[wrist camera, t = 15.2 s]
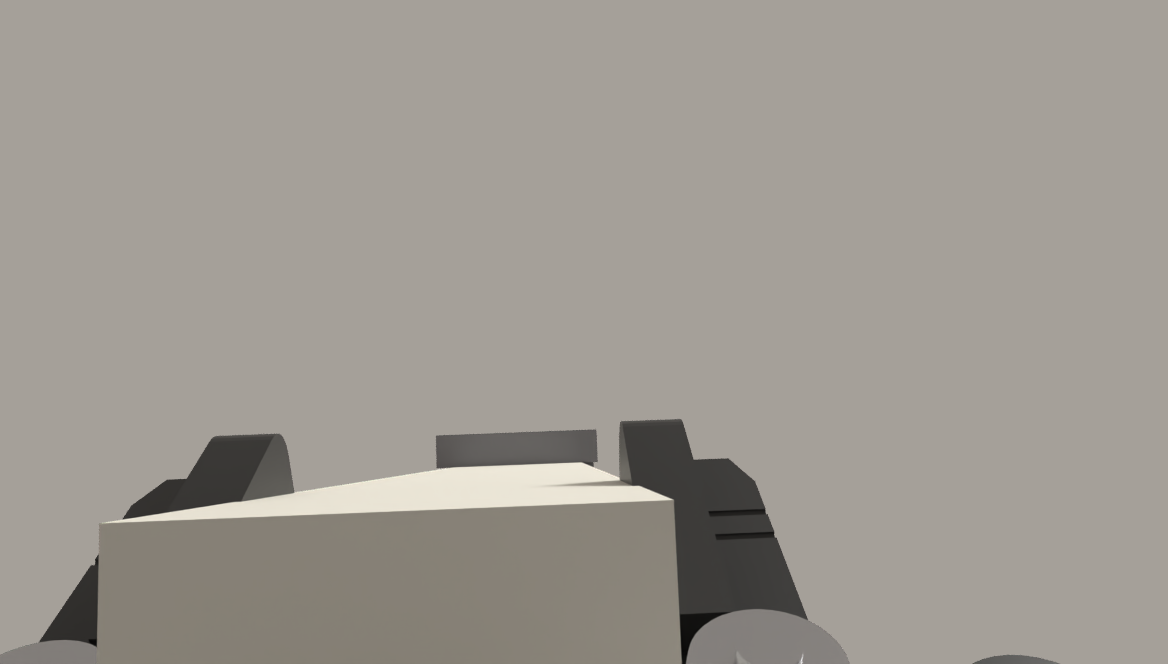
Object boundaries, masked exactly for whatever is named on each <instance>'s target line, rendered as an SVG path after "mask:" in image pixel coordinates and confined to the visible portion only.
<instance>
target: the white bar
mask: <svg viewBox="0 0 1168 664" xmlns="http://www.w3.org/2000/svg"><path fill="white" fill-rule="evenodd" d="M436 454H437V468H446V469H440V470H434V471H428V472H421V473H414V474H408V475H402V476H396V477H389V478H383V479H377V480H371V481H364V482H358V483H351V484H345V485H339V486H332V487H326V488H320V489H314V490H307V491H301V492H294V493H292V494H286V495H280V496H274V497H267V498H261V499H255V500H249V501H243V502H231V503H225V504H219V505H212V506H206V507H200V508H193V509H187V510H181V511H174V512H168V513H162V514H156V515H149V516H143V517H137V518H130V519H124V520H118V521H111V522H105V523H100V524H99V570H98V622H97V664H682V658H681V638H680V617H679V597H678V576H677V556H676V535H675V515H674V500H673V499H670V498H668V497H665V496H663V495H660V494H658V493H655V492H653V491H651V490H648V489H646V488H643V487H641V486H631V485H629V484H627V483H625V482H622V481H620V478H618V477H616V476H614V475H611V474H609V473H606V472H604V471H602V470H599V469H596V468H594V466H593V462H597V461H598V460H597V435H596V430H573V431H547V432H521V433H520V432H519V433H494V434H469V435H468V434H467V435H443V436H436Z"/></svg>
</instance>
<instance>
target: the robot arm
mask: <svg viewBox="0 0 1168 664" xmlns="http://www.w3.org/2000/svg"><path fill="white" fill-rule="evenodd" d="M619 434H620V435H619V449H620V450H619V454H620V455H619V457H620V458H619V462H620V464H619V465H620V467H619V469H620V481H622V482H625V483H627V484H629V485H631V486H641V487H643V488H646V489H648V490H651V491H653V492H655V493H658V494H660V495H663V496H665V497H668V498H670V499H673V500H674V515H675V535H676V556H677V576H678V597H679V617H680V638H681V658H682V664H849V661H848V658H847V656H846V654H845V652H844V650H843V649H842V647H841V646H840V645H839V643H838V642H837V641H836V640H835V639H834V638H833V637H832V636H831V635H830V634H828V633H827V632H826V631H825V630H823V629H822V628H821V627H819V626H817V625H815V624H814V623H812V622H810V621H808V619H807V616H806V614H805V611H804V609H803V606H802V603H801V601H800V598H799V595H798V593H797V590H796V587H795V585H794V582H793V580H792V577H791V575H790V572H789V569H788V567H787V564H786V561H785V559H784V556H783V554H782V551H781V548H780V546H779V543H778V540H777V538H775V537H774V530H773V527H772V525H771V522H770V520H769V517H768V514H766V513H765V506H764V504H763V501H762V499H761V496H760V493H759V491H758V488H757V486H756V483H755V481H754V480H753V479H752V478H750V477H749V476H748V475H747V474H746V473H745V472H743V471H742V470H741V469H740V468H738V466H736V465H735V464H734V463H733V462H732V461H731V460H729V459H702V460H693V457H692V453H691V449H690V446H689V442H688V439H687V435H686V432H685V428H684V425H683V422H682V420H681V419H674V420H645V421H621V422H620V433H619ZM292 493H294V488H293V481H292V475H291V468H290V462H289V456H288V451H287V446H286V443H285V441H284V439H283V437H282V436H281V435H280V434H258V435H232V436H216V437H213V438H212V439H211V441H210V442H209V444H208V445H207V447H206V448H205V450H204V452H203V453H202V455H201V457H200V458H199V460H198V461H197V463H196V465H195V466H194V468H193V470H192V471H191V473H190V474H189V476H188V478H187V479H175V480H166V481H165V482H163V483H162V484H161V485H159V486H158V487H157V488H155V489H154V490H153V491H151V492H150V493H148V494H147V495H146V496H144V497H143V498H142V499H140V500H139V501H137V502H136V503H135V504H133V505H132V506H131V507H130V509H129V510H128V512H127V513H126V515H125V516H124V518H123V519H122V520H124V519H130V518H137V517H143V516H149V515H156V514H162V513H168V512H174V511H181V510H187V509H193V508H200V507H206V506H212V505H219V504H225V503H231V502H243V501H249V500H255V499H261V498H267V497H274V496H280V495H286V494H292ZM95 561H96V562H95V565H94V566H93V565H92V566H90V568H89V569H88V571H87V572H86V574H85V575H84V576H83V578H82V580H81V581H80V582H79V584H78V585H77V587H76V588H75V590H74V591H73V593H72V594H71V596H70V597H69V599H68V600H67V601H66V603H65V605H64V606H63V607H62V609H61V610H60V612H59V613H58V615H57V616H56V618H55V619H54V621H53V622H52V624H51V625H50V627H49V628H48V629H47V631H46V633H45V634H44V636H43V637H42V638H41V640H40V642H39V643H35V644H30V645H26V646H23V647H20V648H17V649H14V650H11V651H8V652H6V653H3V654H1V655H0V664H97V622H98V570H99V555H98V556H97V557H96V559H95ZM973 664H1058V663H1056V662H1053V661H1049V660H1045V659H1041V658H1037V657H1029V656H1022V655H1003V656H994V657H990V658H986V659H982V660H980V661H977V662H975V663H973Z"/></svg>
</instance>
